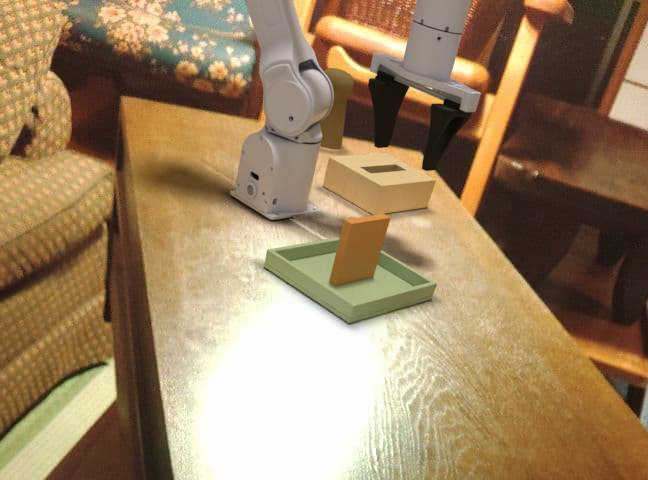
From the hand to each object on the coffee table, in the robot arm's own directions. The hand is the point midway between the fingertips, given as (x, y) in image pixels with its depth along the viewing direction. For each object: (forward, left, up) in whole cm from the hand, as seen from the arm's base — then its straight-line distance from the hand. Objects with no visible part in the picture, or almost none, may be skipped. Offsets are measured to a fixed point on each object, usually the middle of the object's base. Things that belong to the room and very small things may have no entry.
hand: (404, 158), depth 90 cm
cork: (+22, +31, -11) cm, 39 cm away
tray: (-14, -7, -10) cm, 19 cm away
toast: (-14, -7, -10) cm, 19 cm away
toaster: (+12, +11, -10) cm, 19 cm away
